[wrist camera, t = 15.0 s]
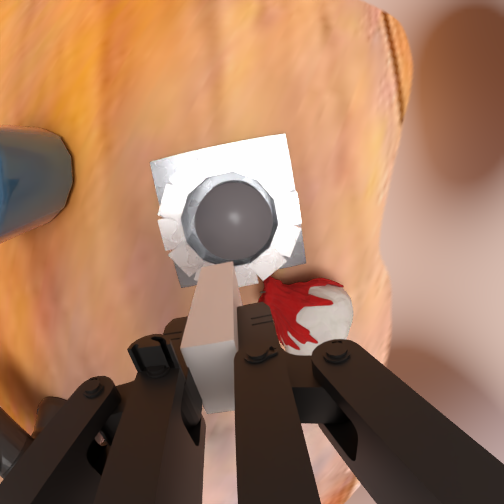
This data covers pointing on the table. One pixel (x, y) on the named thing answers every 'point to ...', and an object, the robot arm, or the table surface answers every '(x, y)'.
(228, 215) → the cap
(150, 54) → the table surface
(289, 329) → the candle
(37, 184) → the wine bottle
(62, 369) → the table surface
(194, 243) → the square flange collar
